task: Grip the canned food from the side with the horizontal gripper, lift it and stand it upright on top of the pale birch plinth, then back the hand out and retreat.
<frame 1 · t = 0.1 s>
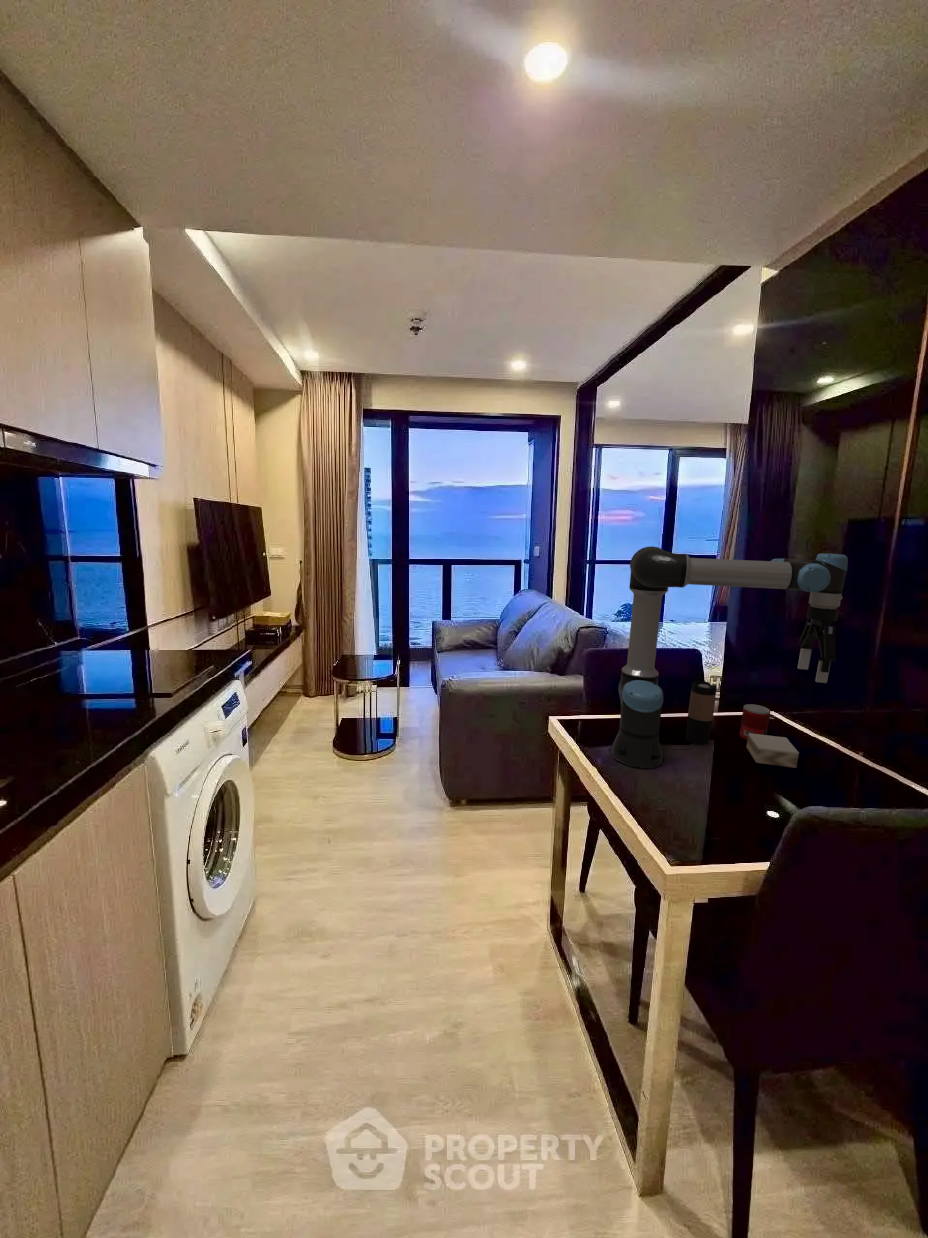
hand: (811, 675, 152), 28 cm above the table, tool pointing down, fingers open, 13 cm apart
travel mug: (697, 741, 170), on the table
birch plinth: (770, 757, 159), on the table
canned food: (752, 738, 173), on the table
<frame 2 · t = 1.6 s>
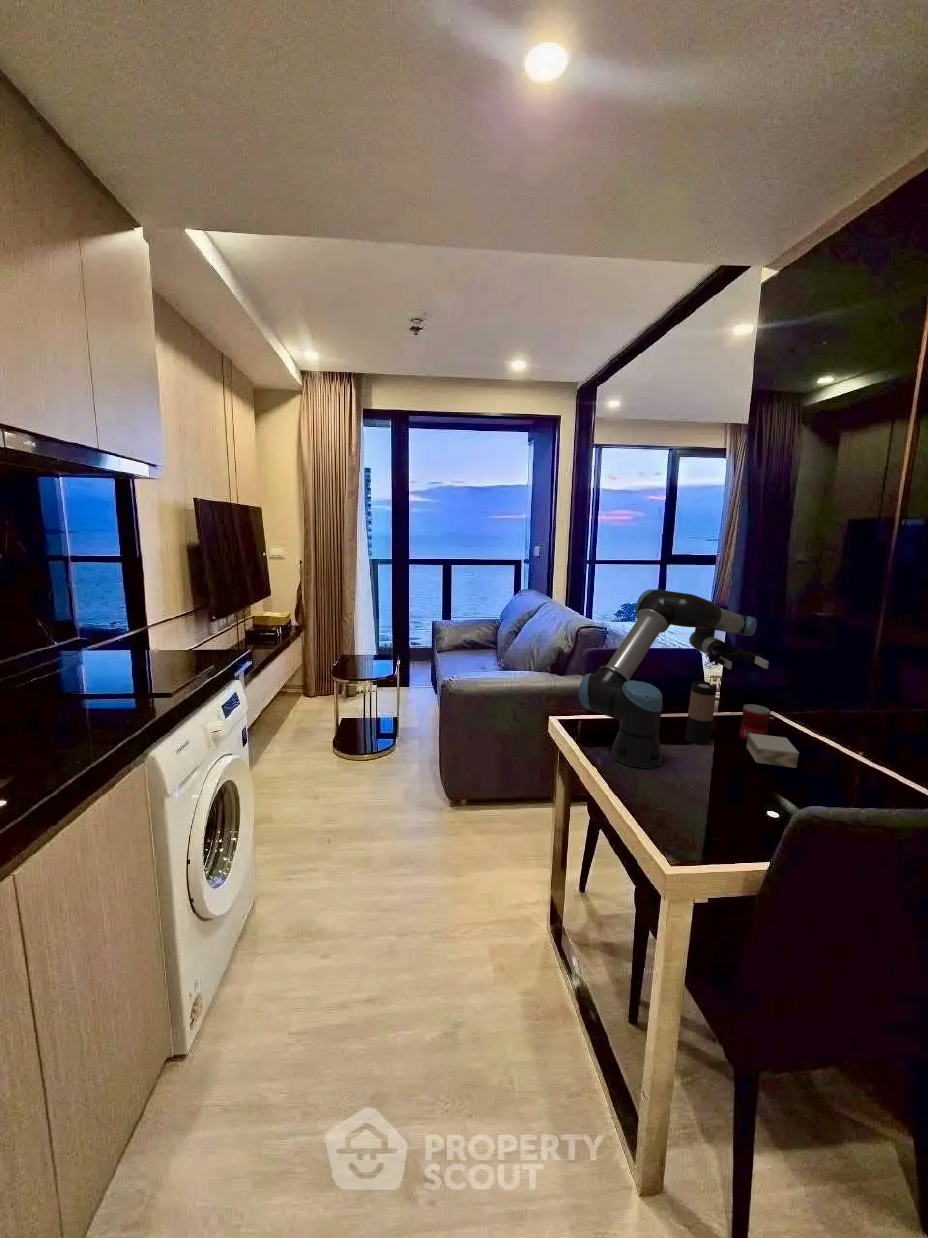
hand: (749, 665, 178), 23 cm above the table, tool horizontal, fingers open, 13 cm apart
nothing on the table moved.
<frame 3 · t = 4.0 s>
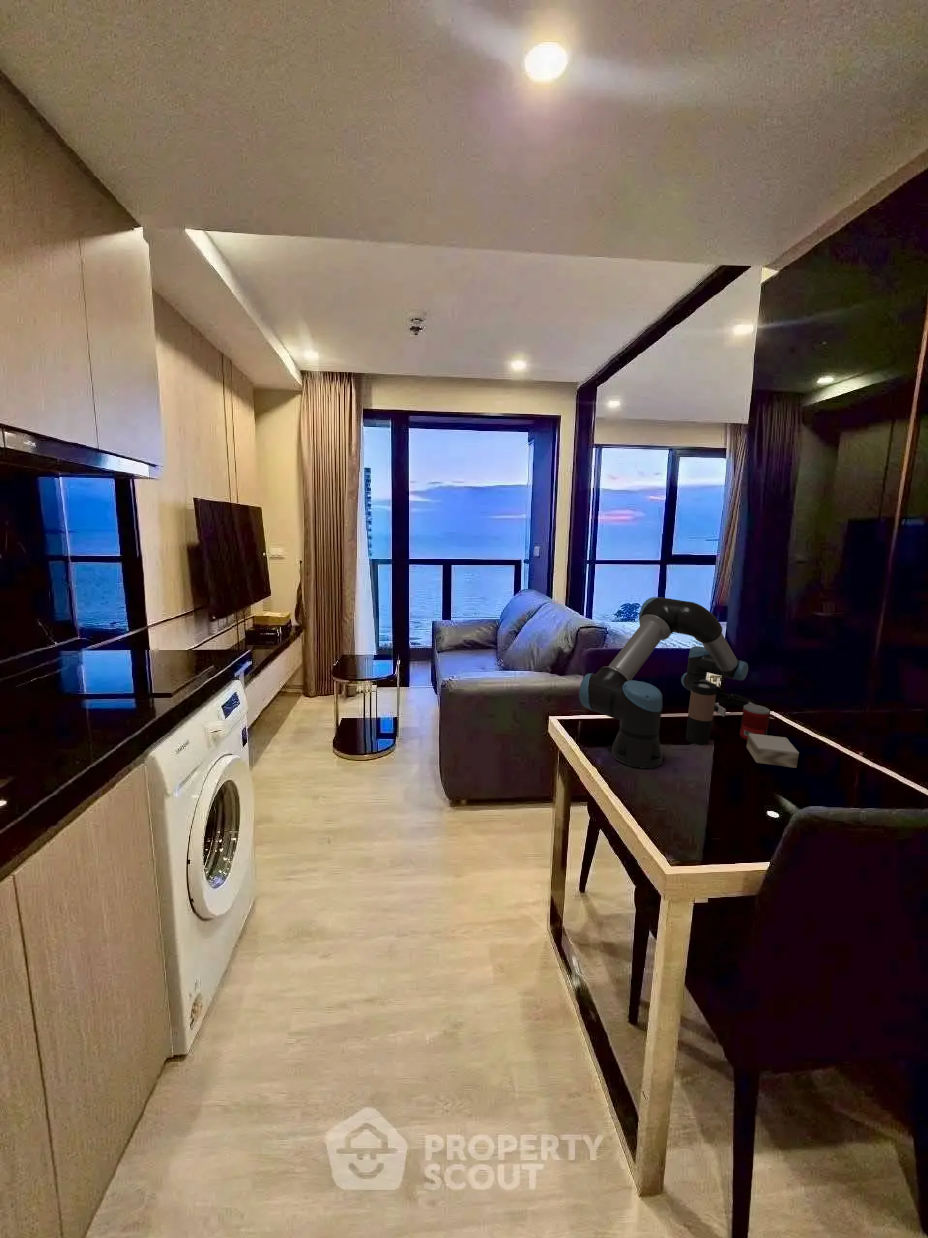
hand: (742, 712, 179), 6 cm above the table, tool horizontal, fingers open, 13 cm apart
nothing on the table moved.
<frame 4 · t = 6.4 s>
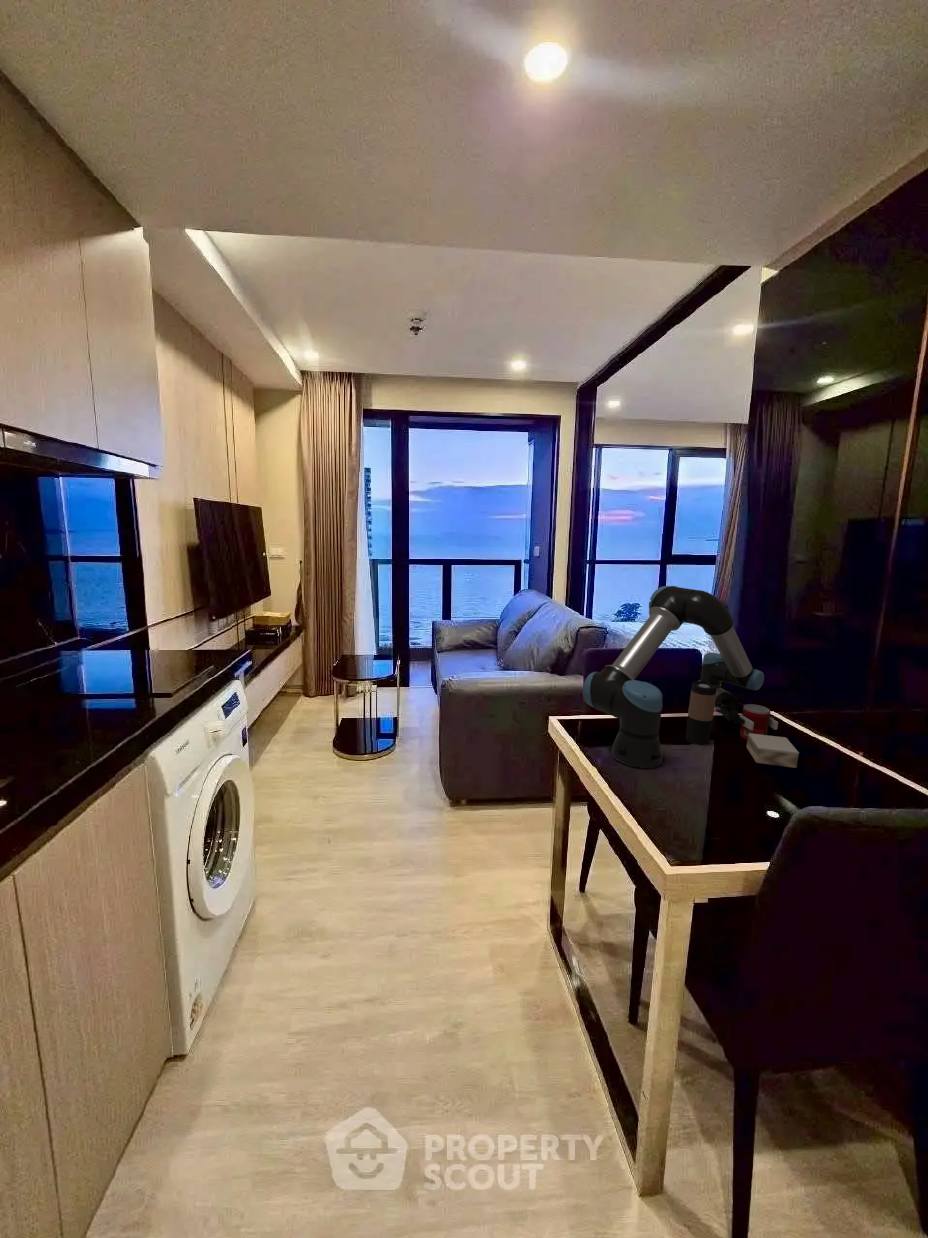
hand: (764, 726, 167), 7 cm above the table, tool horizontal, fingers closed on canned food, 8 cm apart
canned food: (752, 738, 173), on the table, touching gripper
everything else where it was.
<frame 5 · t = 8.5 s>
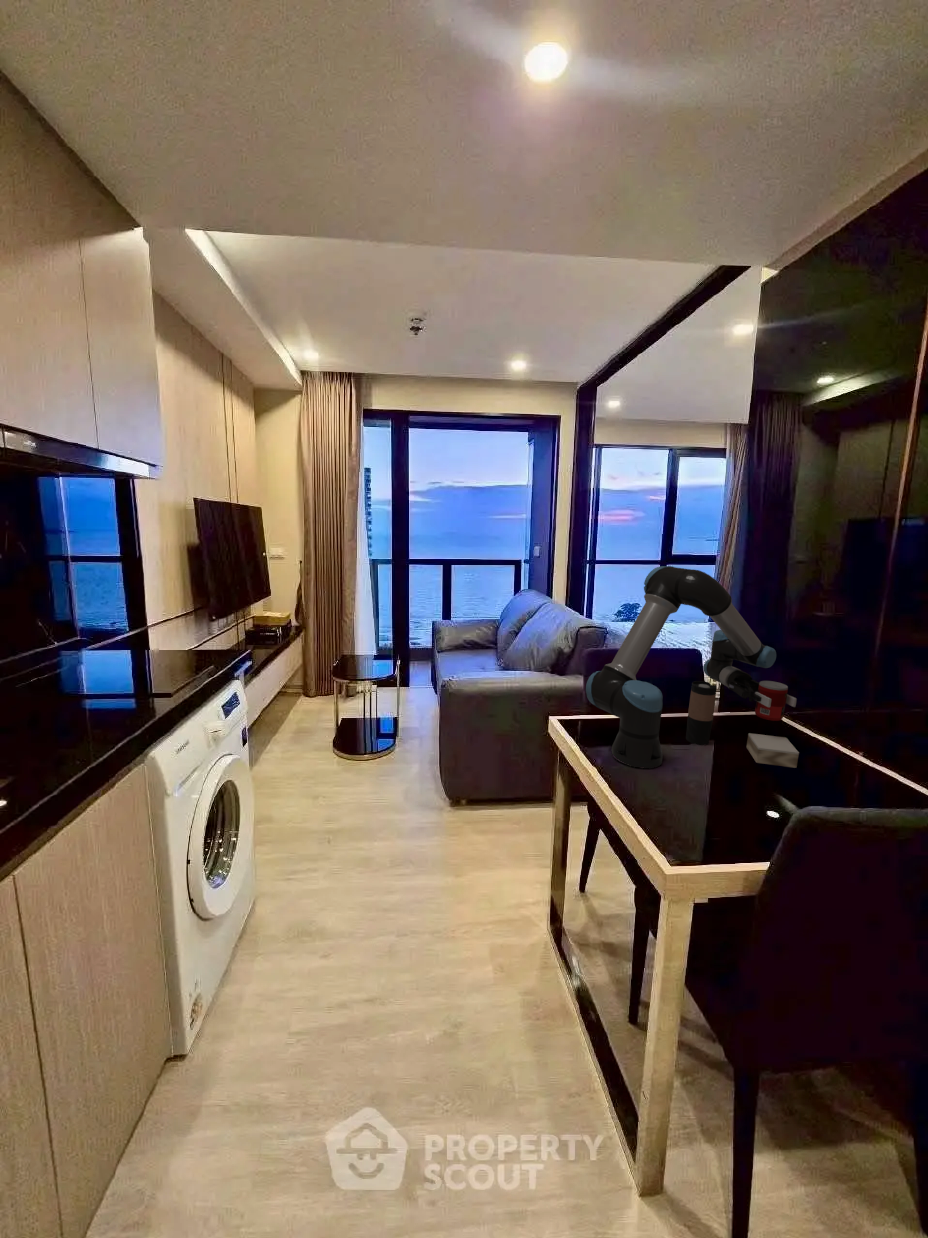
hand: (782, 703, 157), 17 cm above the table, tool horizontal, fingers closed on canned food, 8 cm apart
canned food: (768, 717, 164), point 11 cm above the table, touching gripper
everything else where it was.
when the fingers open (13 cm above the table, at t = 10.5 s): canned food drops 1 cm, resting on birch plinth.
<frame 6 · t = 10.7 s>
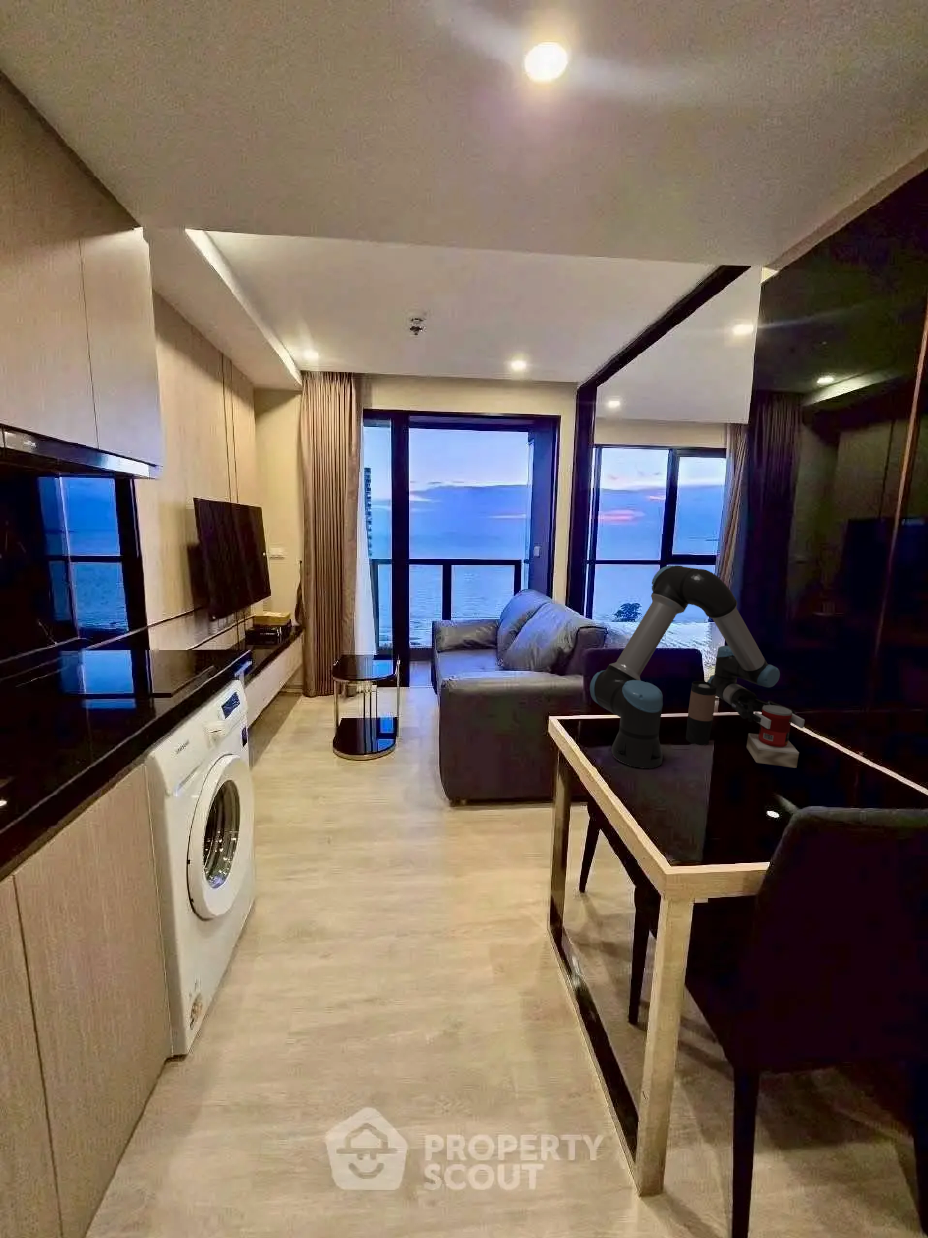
hand: (786, 724, 152), 13 cm above the table, tool horizontal, fingers open, 10 cm apart
canned food: (772, 742, 158), point 5 cm above the table, touching birch plinth
everything else where it was.
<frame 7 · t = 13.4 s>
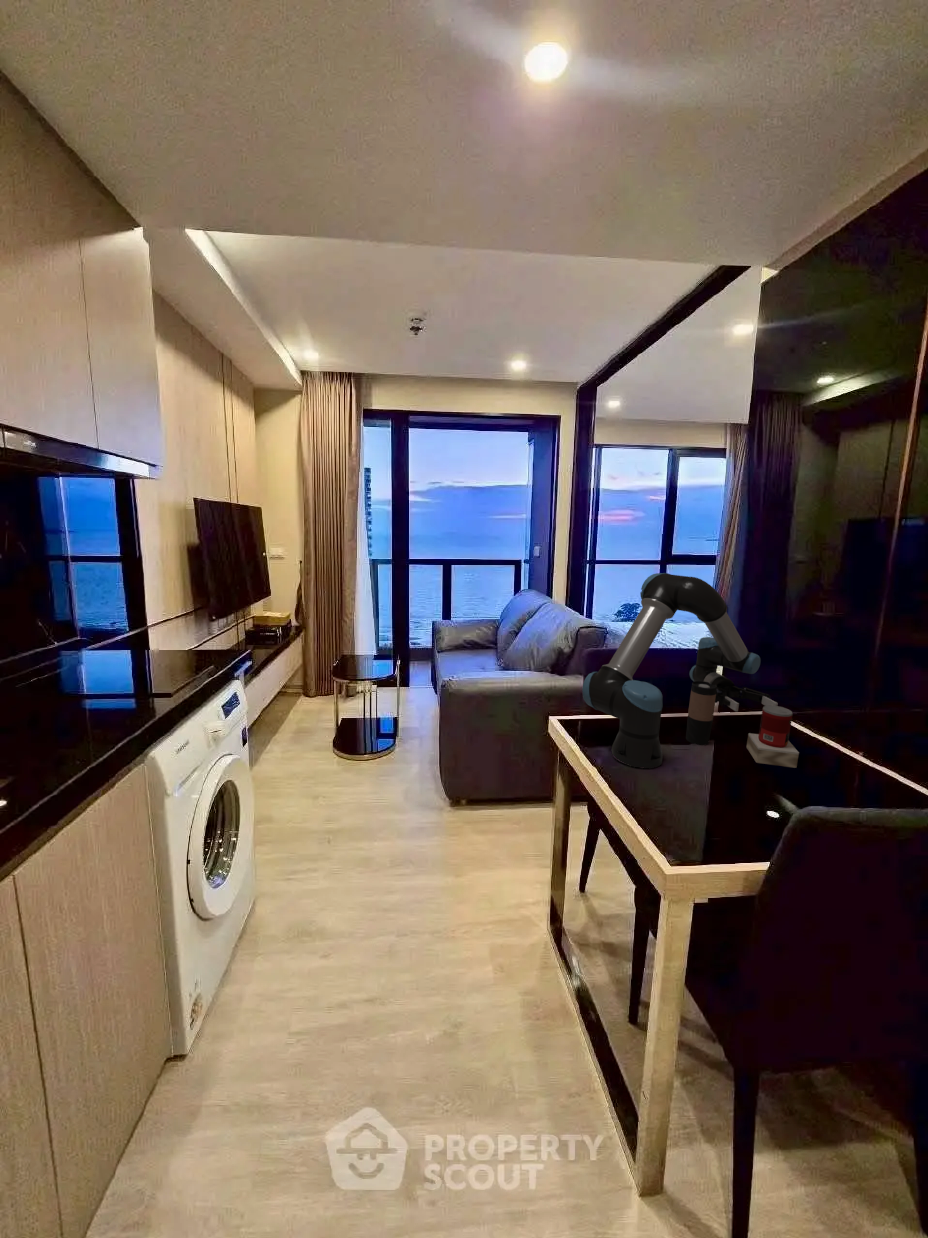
hand: (756, 707, 165), 13 cm above the table, tool horizontal, fingers open, 13 cm apart
nothing on the table moved.
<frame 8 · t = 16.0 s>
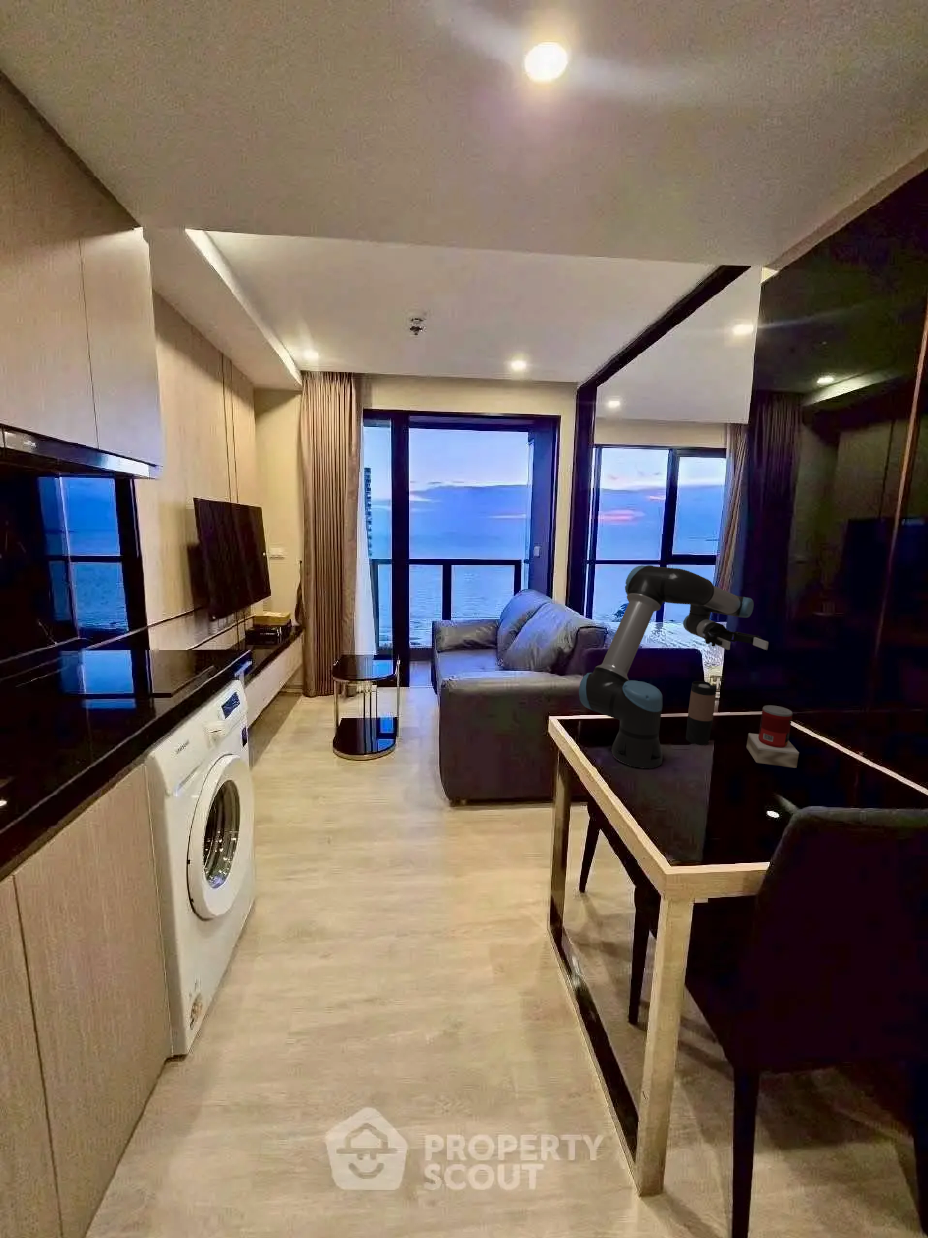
hand: (748, 645, 169), 32 cm above the table, tool horizontal, fingers open, 13 cm apart
nothing on the table moved.
at the end: canned food inside the target area on the birch plinth (0.1 cm from its centre), point 4.8 cm above the birch plinth's base; canned food tilted 0°; the gripper is holding nothing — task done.
